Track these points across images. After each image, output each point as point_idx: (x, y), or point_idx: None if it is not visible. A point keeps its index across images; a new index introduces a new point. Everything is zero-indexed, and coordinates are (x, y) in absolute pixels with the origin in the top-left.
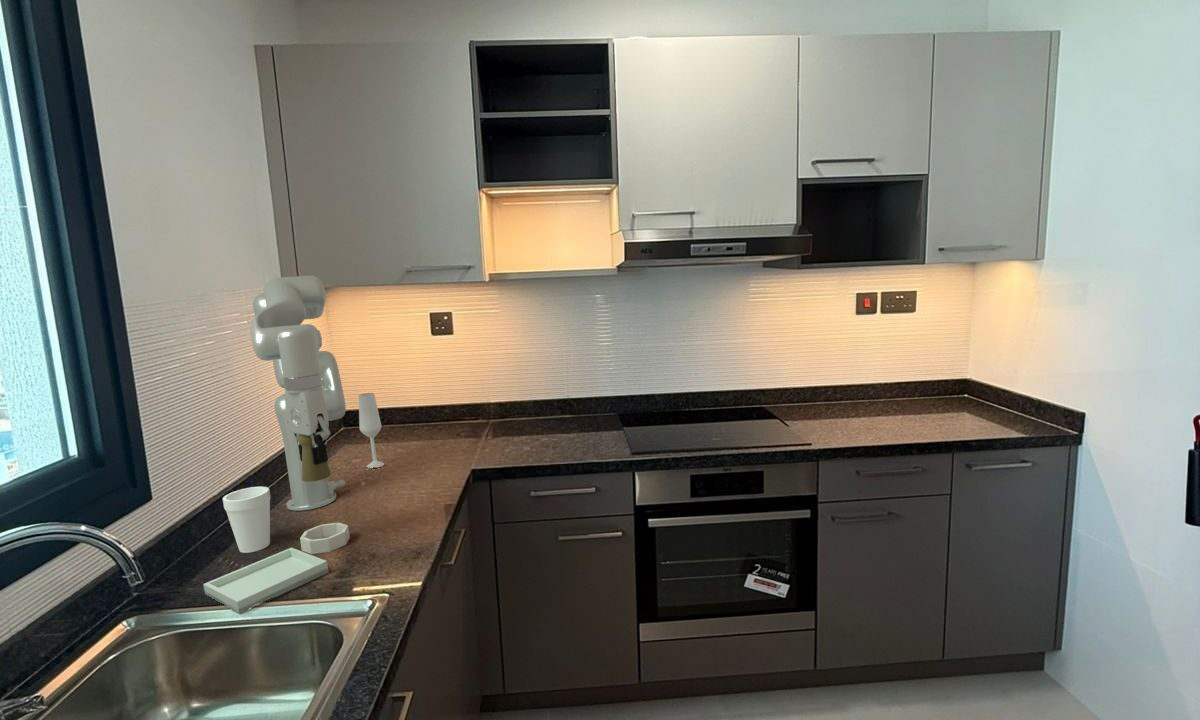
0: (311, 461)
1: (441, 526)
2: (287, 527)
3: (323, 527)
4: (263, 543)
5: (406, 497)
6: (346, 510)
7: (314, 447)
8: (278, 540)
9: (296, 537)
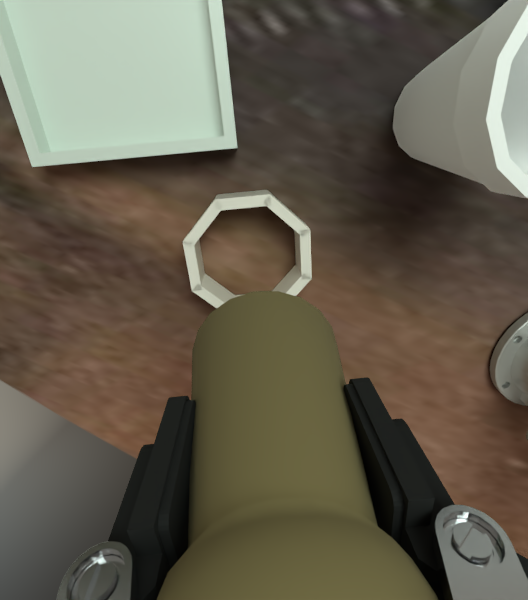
0: (204, 404)
1: (105, 439)
2: (464, 240)
3: (297, 277)
4: (397, 126)
5: None
6: (406, 374)
7: (103, 547)
8: (403, 182)
9: (371, 223)
